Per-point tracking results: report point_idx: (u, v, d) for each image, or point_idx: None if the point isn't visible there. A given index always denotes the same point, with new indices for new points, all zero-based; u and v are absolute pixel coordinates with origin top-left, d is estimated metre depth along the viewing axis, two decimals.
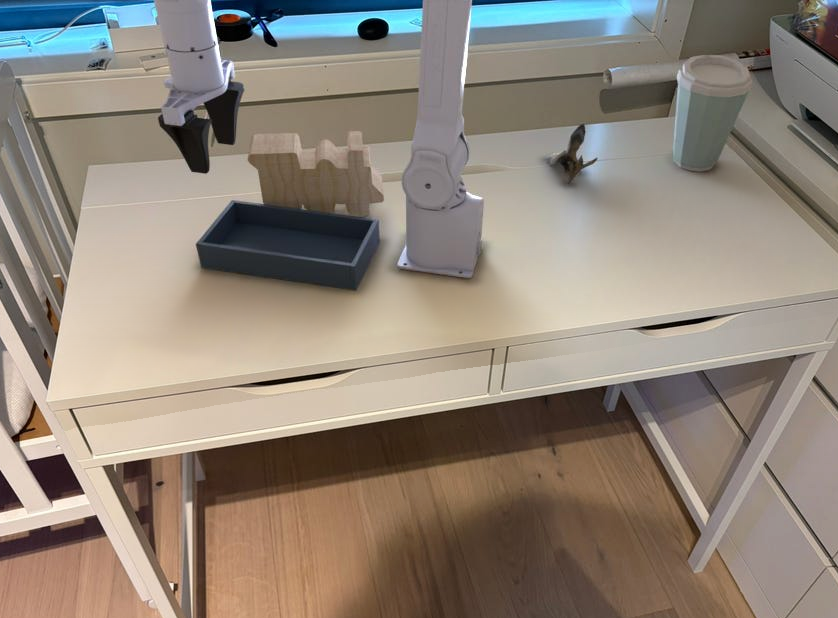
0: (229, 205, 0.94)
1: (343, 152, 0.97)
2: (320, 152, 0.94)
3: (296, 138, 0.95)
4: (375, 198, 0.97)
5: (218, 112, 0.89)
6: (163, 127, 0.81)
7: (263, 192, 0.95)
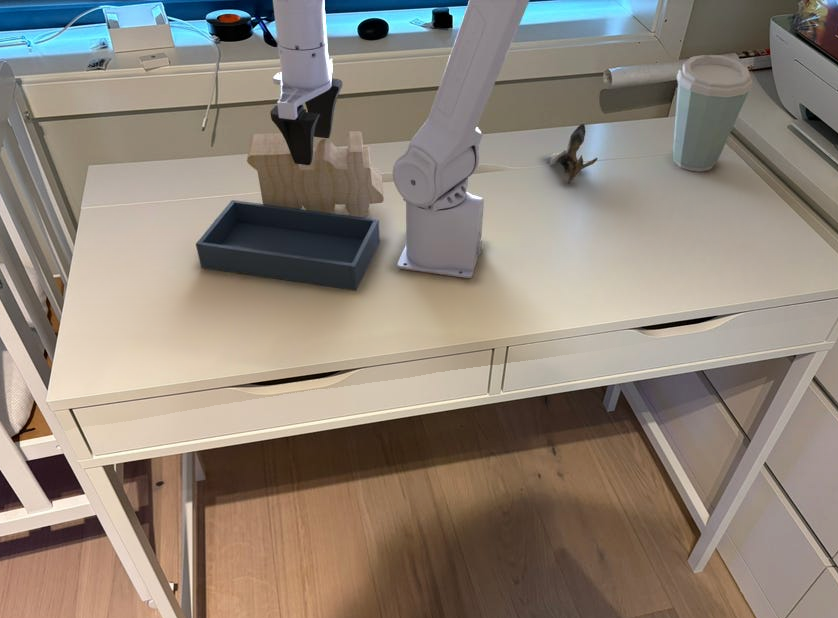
0: (229, 205, 0.94)
1: (343, 152, 0.97)
2: (319, 153, 0.94)
3: None
4: (375, 199, 0.97)
5: (317, 107, 0.94)
6: (275, 121, 0.86)
7: (263, 193, 0.95)
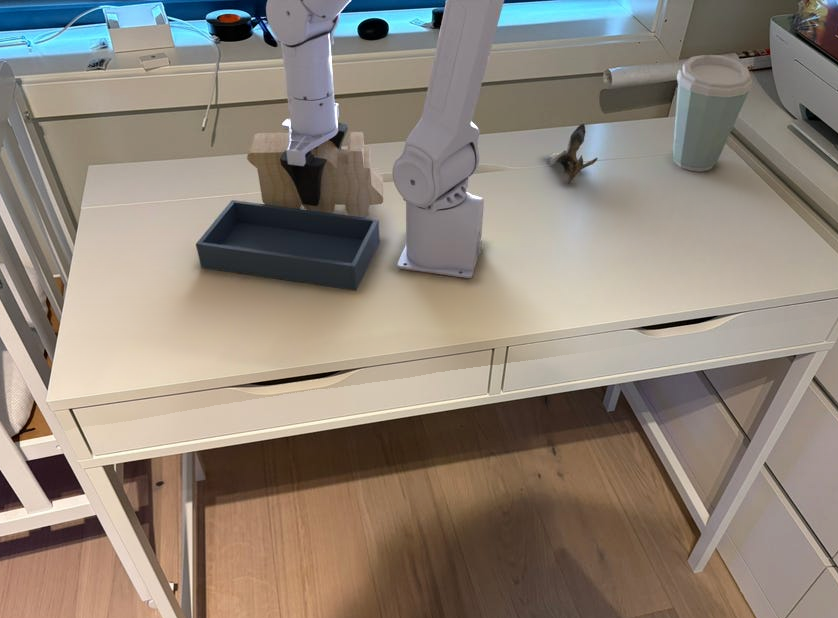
0: (229, 205, 0.94)
1: (344, 153, 0.97)
2: (320, 153, 0.94)
3: None
4: (374, 199, 0.97)
5: None
6: (284, 166, 0.90)
7: (262, 191, 0.95)
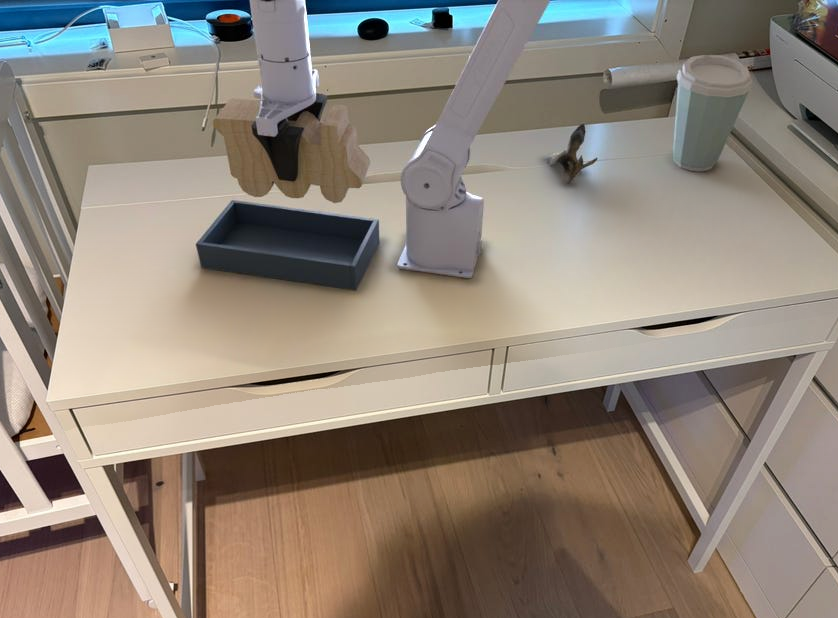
0: (229, 205, 0.94)
1: None
2: (294, 125, 0.84)
3: None
4: (352, 183, 0.86)
5: None
6: (256, 135, 0.81)
7: (230, 162, 0.86)
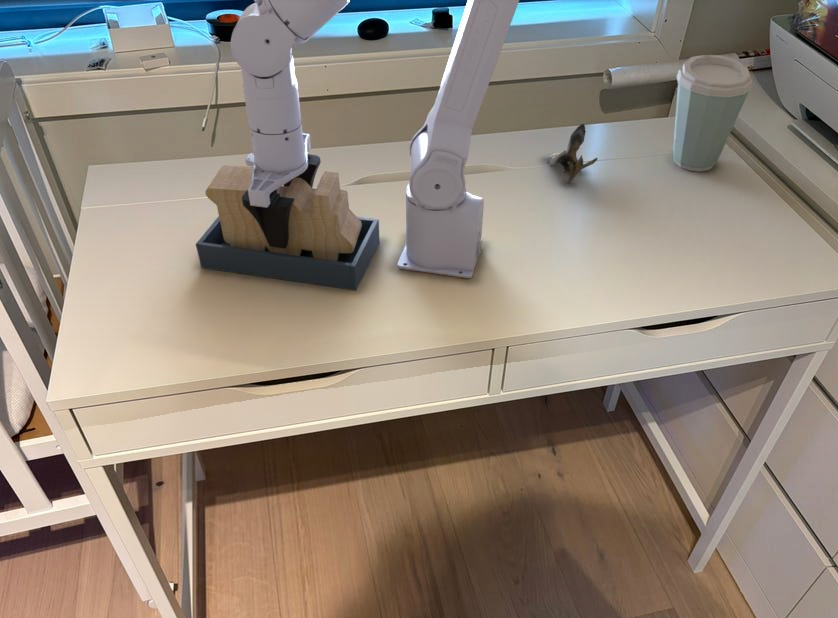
0: None
1: None
2: (286, 193, 0.85)
3: None
4: (344, 248, 0.87)
5: None
6: (247, 207, 0.81)
7: (223, 229, 0.87)
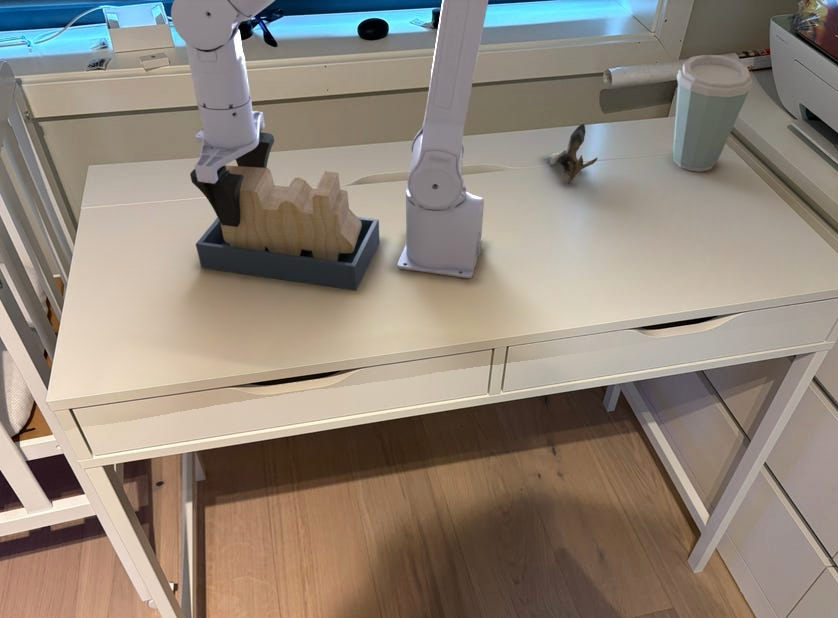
0: None
1: None
2: (286, 193, 0.85)
3: (265, 174, 0.86)
4: (344, 248, 0.87)
5: (247, 163, 0.89)
6: (195, 183, 0.80)
7: (223, 229, 0.87)
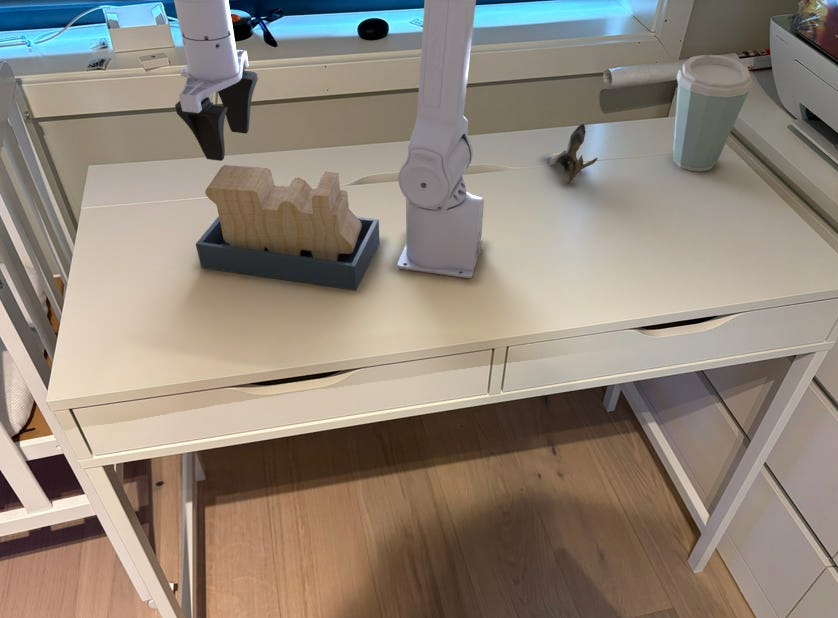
0: None
1: None
2: (286, 193, 0.85)
3: (265, 174, 0.86)
4: (343, 248, 0.87)
5: (232, 101, 0.91)
6: (180, 114, 0.83)
7: (223, 228, 0.87)
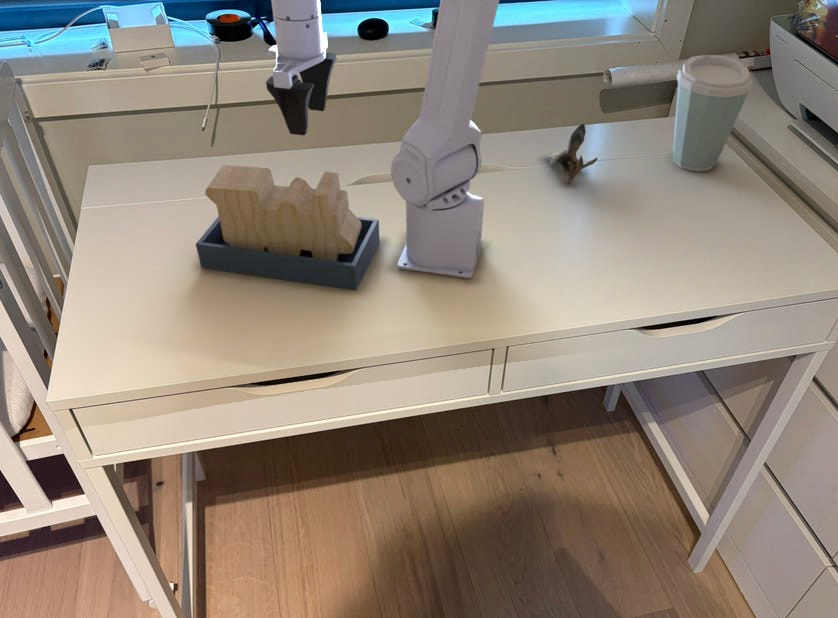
0: None
1: None
2: (286, 193, 0.85)
3: (265, 174, 0.86)
4: (343, 248, 0.87)
5: (312, 80, 0.97)
6: (270, 91, 0.89)
7: (223, 228, 0.87)
